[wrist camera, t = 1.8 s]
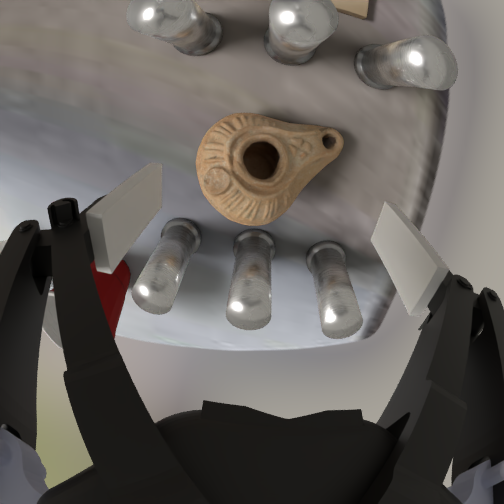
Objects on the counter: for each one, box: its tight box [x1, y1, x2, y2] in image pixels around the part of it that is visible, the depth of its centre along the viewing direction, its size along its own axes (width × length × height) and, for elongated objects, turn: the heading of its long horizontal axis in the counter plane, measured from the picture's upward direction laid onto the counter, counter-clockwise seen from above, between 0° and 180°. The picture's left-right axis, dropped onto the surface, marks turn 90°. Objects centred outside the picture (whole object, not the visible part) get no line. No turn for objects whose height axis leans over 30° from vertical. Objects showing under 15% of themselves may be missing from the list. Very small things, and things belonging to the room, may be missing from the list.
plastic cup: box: [42, 260, 131, 350], centre depth 28 cm, size 11×11×12 cm
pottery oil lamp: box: [196, 113, 344, 226], centre depth 21 cm, size 9×12×7 cm
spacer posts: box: [127, 0, 458, 339], centre depth 19 cm, size 25×20×10 cm
